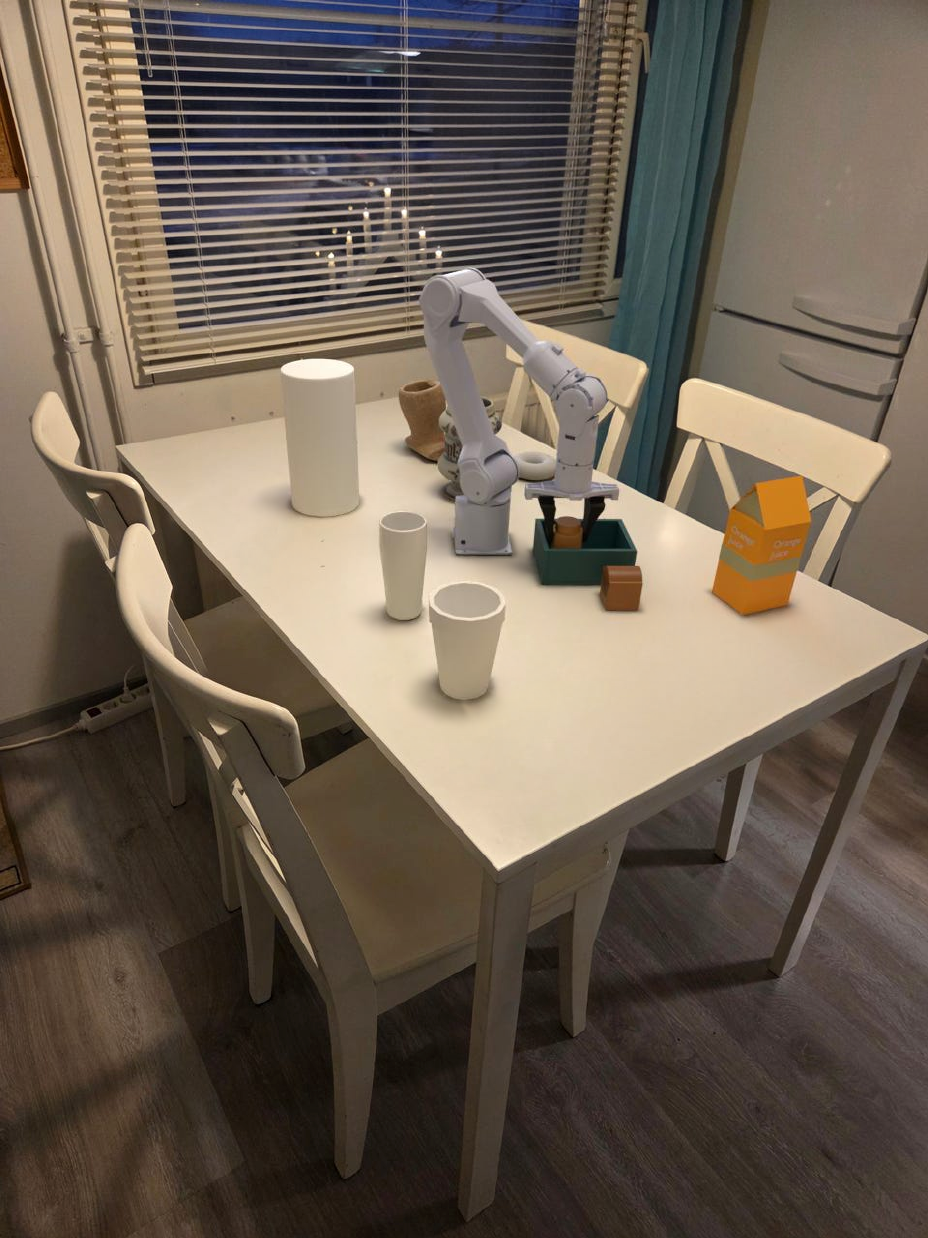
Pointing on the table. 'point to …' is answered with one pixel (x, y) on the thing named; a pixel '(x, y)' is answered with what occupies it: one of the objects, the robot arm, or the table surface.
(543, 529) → the dark green open box
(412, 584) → the drinking glass
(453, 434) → the apothecary jar
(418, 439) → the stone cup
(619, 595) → the square bread
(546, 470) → the donut
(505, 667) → the table surface
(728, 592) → the orange juice
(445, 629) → the foam cup
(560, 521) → the round bread
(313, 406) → the cylinder
